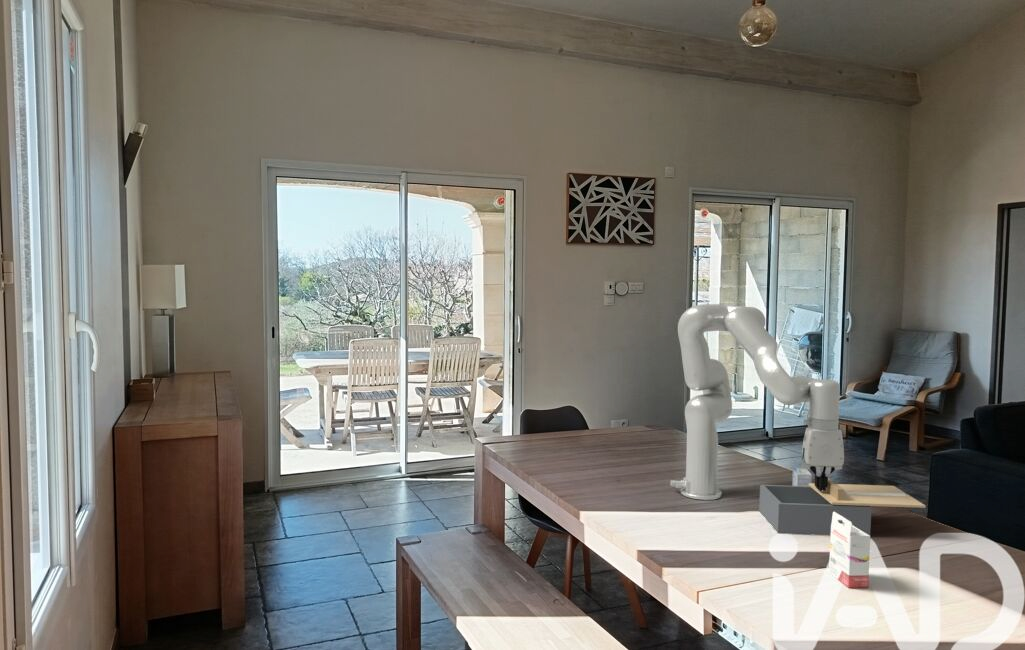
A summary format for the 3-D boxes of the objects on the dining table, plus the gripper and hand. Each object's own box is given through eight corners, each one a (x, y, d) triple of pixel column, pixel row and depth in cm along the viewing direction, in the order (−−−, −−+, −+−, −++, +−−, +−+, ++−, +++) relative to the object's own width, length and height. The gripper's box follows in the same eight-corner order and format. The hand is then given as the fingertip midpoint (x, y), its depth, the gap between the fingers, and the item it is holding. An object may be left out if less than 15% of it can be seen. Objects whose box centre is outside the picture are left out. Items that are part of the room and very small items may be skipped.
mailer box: (777, 533, 189) (778, 503, 189) (759, 511, 207) (760, 484, 207) (870, 536, 188) (871, 507, 187) (843, 514, 206) (844, 487, 205)
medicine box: (811, 502, 217) (812, 474, 216) (796, 501, 218) (797, 473, 217) (806, 494, 224) (807, 468, 224) (791, 493, 225) (792, 467, 225)
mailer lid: (831, 504, 188) (832, 491, 188) (808, 485, 206) (809, 472, 205) (925, 507, 186) (926, 494, 186) (893, 487, 204) (894, 475, 204)
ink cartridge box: (869, 588, 156) (872, 522, 155) (848, 588, 155) (851, 523, 155) (848, 572, 164) (850, 510, 163) (827, 572, 164) (830, 510, 163)
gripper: (800, 426, 192) (797, 492, 193) (856, 427, 191) (854, 494, 192) (791, 421, 200) (789, 484, 201) (845, 422, 199) (843, 486, 200)
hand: (820, 489), depth 197 cm, fingers closed
